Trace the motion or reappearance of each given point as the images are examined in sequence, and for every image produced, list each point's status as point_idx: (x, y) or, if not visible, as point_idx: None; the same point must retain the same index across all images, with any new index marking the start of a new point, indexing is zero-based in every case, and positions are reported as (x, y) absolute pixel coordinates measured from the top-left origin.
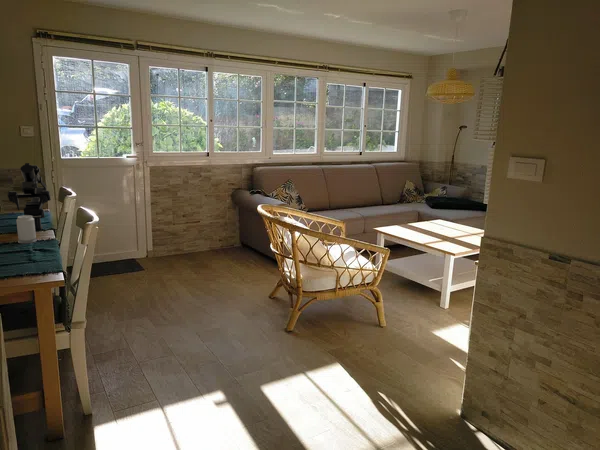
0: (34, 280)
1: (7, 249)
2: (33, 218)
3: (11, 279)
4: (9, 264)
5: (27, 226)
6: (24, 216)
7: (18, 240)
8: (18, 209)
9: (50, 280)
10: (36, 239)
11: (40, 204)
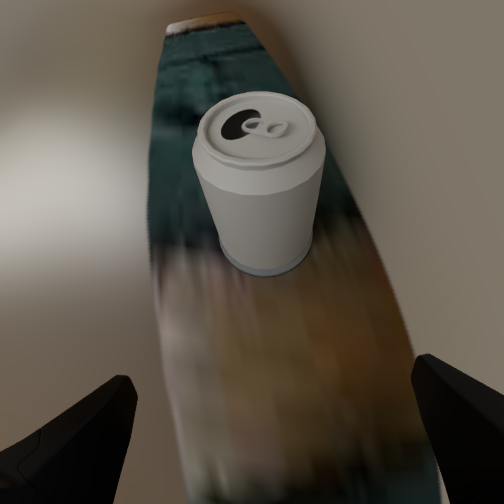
0: (200, 20)
1: None
2: (195, 151)
3: (233, 19)
4: (256, 48)
5: (240, 137)
6: (262, 127)
7: (312, 234)
8: (419, 357)
9: (179, 22)
10: (220, 240)
11: (71, 411)
